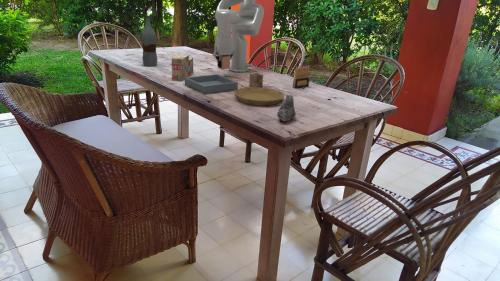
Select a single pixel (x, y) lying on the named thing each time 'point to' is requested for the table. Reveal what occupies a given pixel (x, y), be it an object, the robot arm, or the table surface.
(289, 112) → the mineral rock
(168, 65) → the table surface
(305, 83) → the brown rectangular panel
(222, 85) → the tray
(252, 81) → the walnut block
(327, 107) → the table surface
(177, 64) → the stack of blocks
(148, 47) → the bottle
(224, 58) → the terracotta block
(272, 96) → the plant saucer
